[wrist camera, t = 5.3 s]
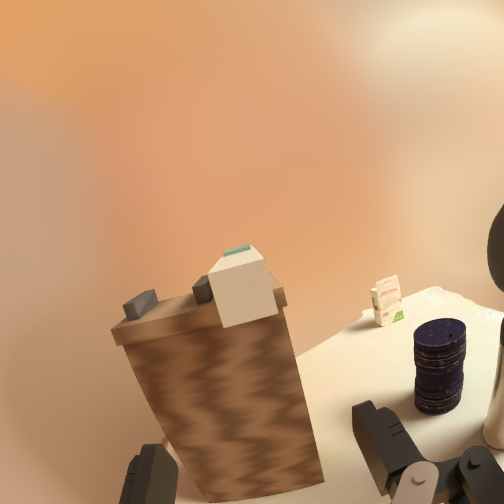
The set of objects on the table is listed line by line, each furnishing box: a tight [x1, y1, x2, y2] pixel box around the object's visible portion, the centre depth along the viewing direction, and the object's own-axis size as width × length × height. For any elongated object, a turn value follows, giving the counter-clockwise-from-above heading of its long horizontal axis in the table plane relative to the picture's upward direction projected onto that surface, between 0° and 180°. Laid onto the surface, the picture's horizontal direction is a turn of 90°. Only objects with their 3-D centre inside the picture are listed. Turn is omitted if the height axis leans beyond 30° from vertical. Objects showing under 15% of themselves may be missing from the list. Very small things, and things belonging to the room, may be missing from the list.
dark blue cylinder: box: [414, 318, 466, 415], centre depth 38 cm, size 10×10×15 cm
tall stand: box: [111, 272, 324, 503], centre depth 34 cm, size 19×11×34 cm, turn 92°
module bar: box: [207, 245, 278, 328], centre depth 31 cm, size 4×23×4 cm, turn 2°
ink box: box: [370, 275, 404, 327], centre depth 80 cm, size 9×5×15 cm, turn 92°
